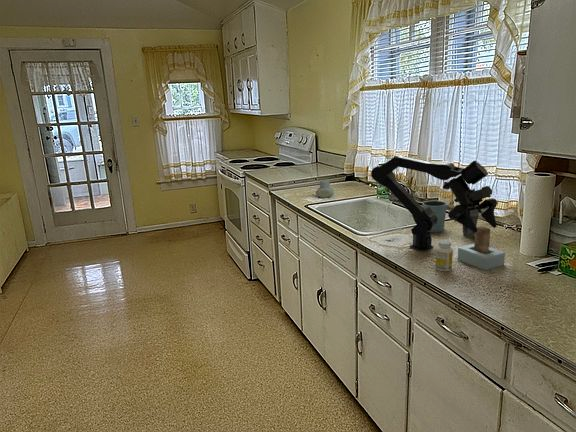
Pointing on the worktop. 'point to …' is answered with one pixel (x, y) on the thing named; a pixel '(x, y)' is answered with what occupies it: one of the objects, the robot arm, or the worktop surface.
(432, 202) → the blue-grey round container
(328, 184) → the air freshener
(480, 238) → the wooden block
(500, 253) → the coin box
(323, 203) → the worktop surface
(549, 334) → the worktop surface
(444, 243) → the supplement bottle
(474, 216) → the beverage cup
